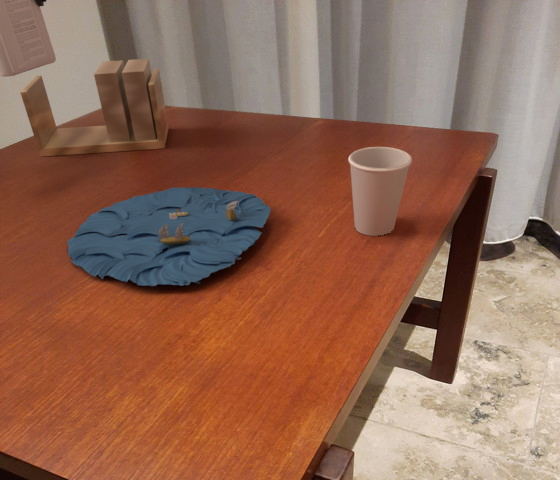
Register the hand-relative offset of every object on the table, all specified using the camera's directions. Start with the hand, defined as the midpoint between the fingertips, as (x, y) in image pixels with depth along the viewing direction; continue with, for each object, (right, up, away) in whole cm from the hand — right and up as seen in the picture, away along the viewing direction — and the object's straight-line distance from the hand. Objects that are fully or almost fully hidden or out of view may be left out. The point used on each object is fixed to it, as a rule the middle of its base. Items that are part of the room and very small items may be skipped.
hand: (18, 3), depth 82 cm
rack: (+4, -8, +31) cm, 32 cm away
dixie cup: (+52, -34, -1) cm, 62 cm away
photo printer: (0, -8, +4) cm, 9 cm away
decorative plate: (+23, -35, -2) cm, 42 cm away
